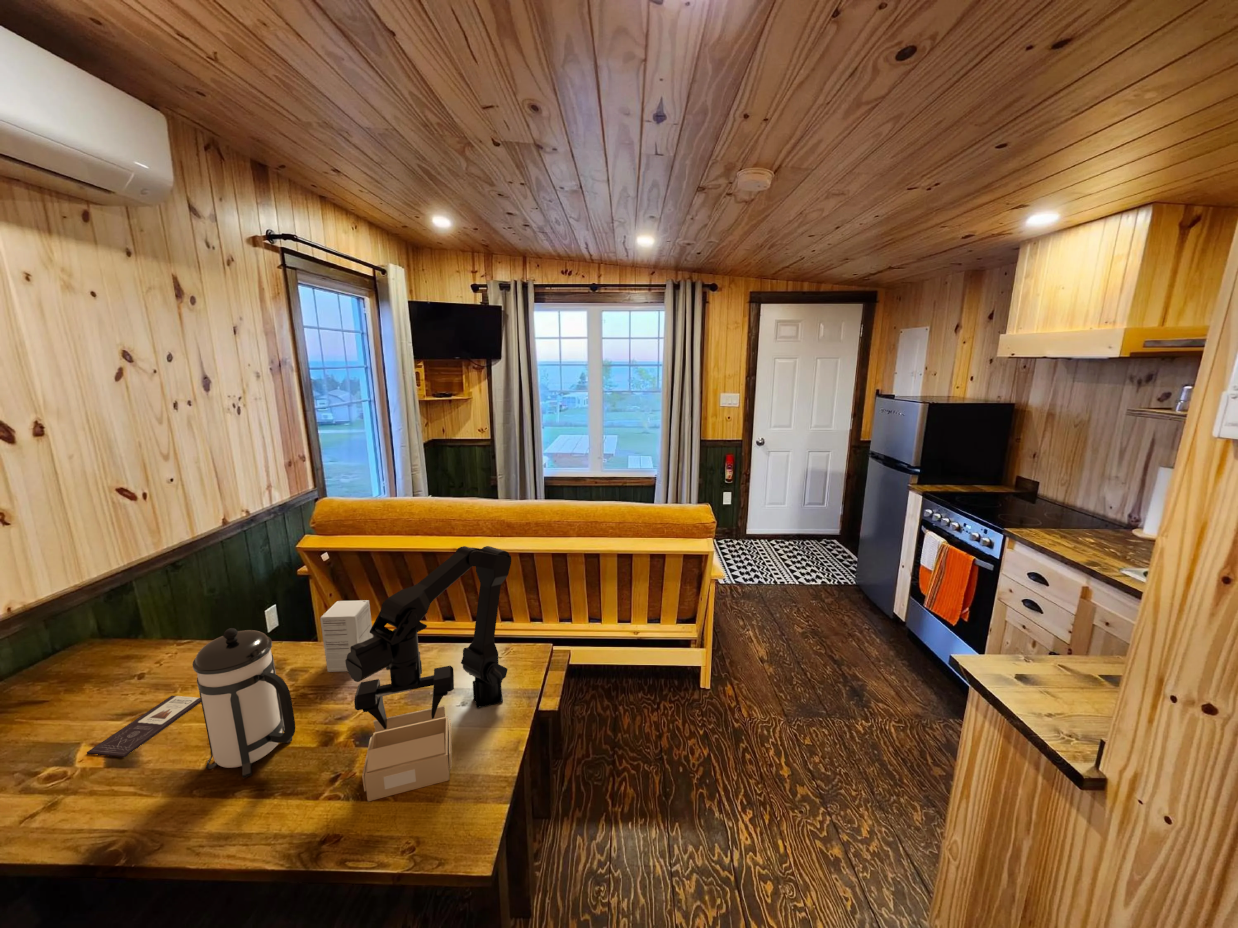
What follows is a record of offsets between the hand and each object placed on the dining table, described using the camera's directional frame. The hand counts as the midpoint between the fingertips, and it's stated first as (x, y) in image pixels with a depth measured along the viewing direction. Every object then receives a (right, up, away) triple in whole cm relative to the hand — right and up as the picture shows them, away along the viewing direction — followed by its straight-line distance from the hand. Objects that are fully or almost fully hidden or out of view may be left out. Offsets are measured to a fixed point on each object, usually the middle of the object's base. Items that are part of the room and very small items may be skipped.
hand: (409, 722), depth 100 cm
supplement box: (-32, -2, +34) cm, 47 cm away
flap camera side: (+2, -2, -7) cm, 7 cm away
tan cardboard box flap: (-1, 0, +2) cm, 2 cm away
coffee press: (-34, -8, +2) cm, 35 cm away
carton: (+1, -9, -1) cm, 9 cm away
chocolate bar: (-66, -7, +10) cm, 67 cm away
